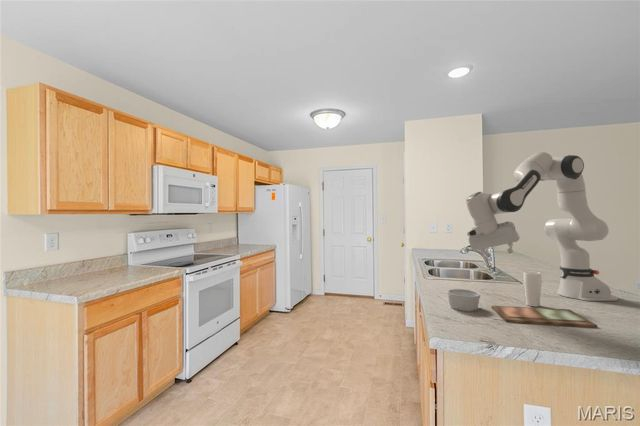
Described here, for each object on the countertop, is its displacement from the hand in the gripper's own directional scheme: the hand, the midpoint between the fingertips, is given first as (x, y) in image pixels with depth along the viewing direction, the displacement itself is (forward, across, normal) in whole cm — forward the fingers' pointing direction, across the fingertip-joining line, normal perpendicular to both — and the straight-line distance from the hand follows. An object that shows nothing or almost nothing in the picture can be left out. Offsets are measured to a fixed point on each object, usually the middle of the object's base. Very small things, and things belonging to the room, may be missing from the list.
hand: (499, 255), depth 136 cm
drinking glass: (+27, -2, -6) cm, 28 cm away
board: (+26, -7, +9) cm, 28 cm away
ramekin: (+16, +18, +16) cm, 29 cm away
